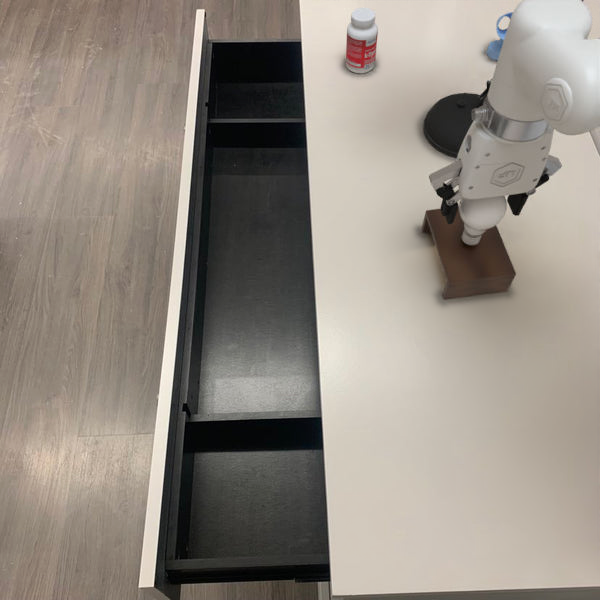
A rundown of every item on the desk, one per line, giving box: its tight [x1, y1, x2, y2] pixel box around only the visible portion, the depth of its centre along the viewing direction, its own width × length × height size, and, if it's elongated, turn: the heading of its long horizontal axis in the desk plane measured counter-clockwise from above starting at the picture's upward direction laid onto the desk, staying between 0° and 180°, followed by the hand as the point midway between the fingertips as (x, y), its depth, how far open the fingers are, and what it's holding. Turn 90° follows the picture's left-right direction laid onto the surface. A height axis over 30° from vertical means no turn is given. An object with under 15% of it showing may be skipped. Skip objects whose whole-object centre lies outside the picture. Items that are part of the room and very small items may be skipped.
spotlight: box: [486, 11, 514, 61], centre depth 107 cm, size 5×10×7 cm
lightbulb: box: [458, 195, 508, 246], centre depth 76 cm, size 6×6×11 cm
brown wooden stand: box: [421, 205, 517, 301], centre depth 83 cm, size 10×14×5 cm
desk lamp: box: [422, 0, 585, 159], centre depth 81 cm, size 24×26×45 cm
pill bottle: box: [345, 7, 379, 74], centre depth 107 cm, size 6×6×11 cm
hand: (480, 212), depth 75 cm, fingers open, 9 cm apart
